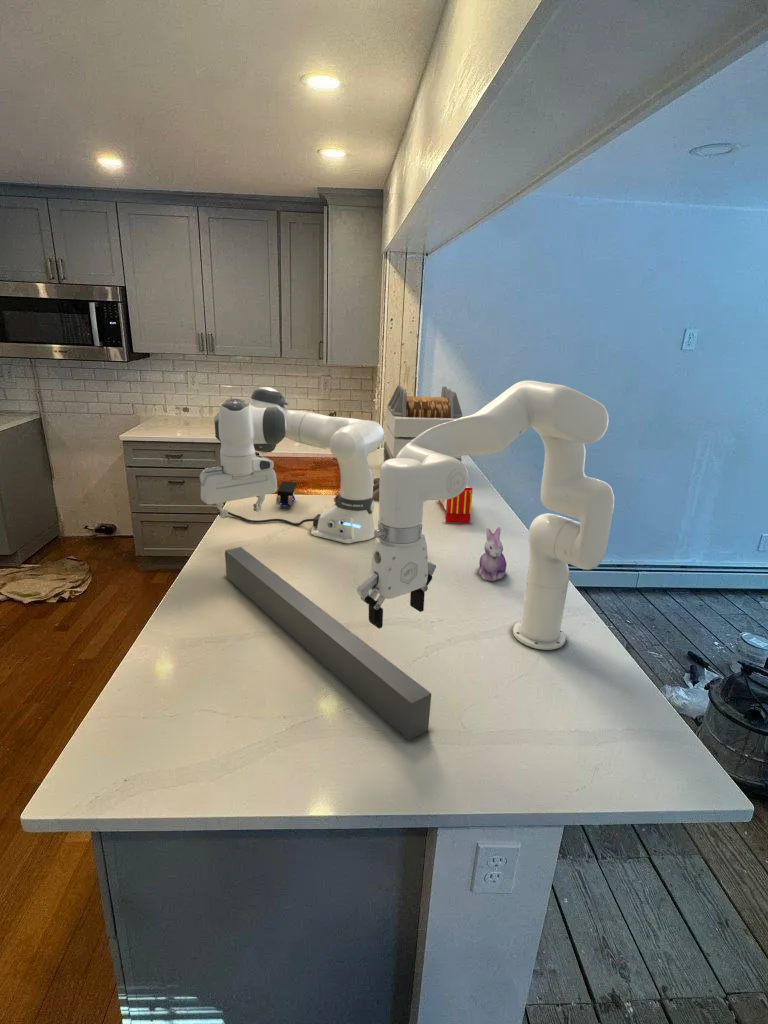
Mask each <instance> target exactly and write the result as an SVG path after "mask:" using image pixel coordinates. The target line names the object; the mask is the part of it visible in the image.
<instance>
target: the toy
mask: <svg viewBox="0 0 768 1024" xmlns="http://www.w3.org/2000/svg"><path fill="white" fill-rule="evenodd" d="M437 502H438V503H439V504H440V505H441V506H442V507H443V508H444V510H445V524H447V523H448V524H451V523H452V524H470V523H471V514H472V504H473V503H472V502H473V487H469V486H468V485H467V486H466V487H465V489H464V490H463V491H462V492H461V493H460V494H459V495H458V496H456V497H454V498H451V499H447V500H437Z"/></svg>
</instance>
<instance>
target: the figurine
mask: <svg viewBox="0 0 768 1024" xmlns="http://www.w3.org/2000/svg"><path fill="white" fill-rule="evenodd" d="M501 529H502V528H501V527H500V526H499V527H497V528H496V530H495V531H494V532H492V530H491V529H490V528H489V527H487V528H486V529H485V534H486V542H485V544H484V546H483V547H484V553H483V554H482V555H481V556H480V557H479V567H478V575H479V576H480V577H481V579H483V580H485V581H491V582H495V581H497V580H501V579H503V578H504V576H505V574H506V569H507V560H506V558H505V554H504V553H503V551H504V546H503V544H502V541H501V531H502V530H501Z"/></svg>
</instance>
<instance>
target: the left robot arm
mask: <svg viewBox="0 0 768 1024" xmlns="http://www.w3.org/2000/svg"><path fill="white" fill-rule="evenodd" d="M285 406H289V402H286V399H285V397H284V396H283V394H282V393H281V392H280V391H278V390H277V389H275V388H273V387H270V386H261V387H256V388H254V389H253V391H252V393H251V396H250V401H248V400H246V399H241V398H229V399H225V400H223V401H221V402H220V404H219V407H218V408H219V410H218V413H217V414H216V415H215V416H214V418H213V422H214V432H215V433H214V435H215V438H216V439H217V440H218V441H219V442H220V450H219V456H220V465H219V466H214V467H207V468H204V470H202V471H201V472H200V473H199V483H200V499H201V501H202V502H203V503H204V504H205V505H207V506H208V505H209V506H210V505H215V507H216V508H217V509H218V510H219V511H218V512H217V513H215V514H216V515H217V516H219V515H220V518H221V519H226V518H228V517H229V515H230V516H231V517H234V518H238V519H240V520H243V521H245V522H247V523H252V524H261V523H268V522H269V523H270V522H283V523H286V524H289V525H291V526H296V527H297V526H301V525H303V524H304V523H307V522H312V528H311V530H310V533H311V536H315V537H319V538H323V539H326V540H330V541H336V542H339V543H343V544H352V543H357V542H365V541H368V540H372V539H373V538H376V537H375V536H374V531H375V530H376V528H375V523H374V513H373V512H374V509H375V499H374V496H373V486H374V484H373V480H374V473H373V471H372V470H371V469H370V465H369V460H368V459H369V458H368V456H369V454H370V453H372V452H375V451H376V450H377V449H378V448H380V446H381V445H382V444H383V443H384V441H385V430H384V428H383V426H382V425H381V424H380V423H379V422H378V421H375V420H367V419H358V418H352V417H351V418H350V417H341V416H339V417H338V416H330V415H325V414H321V413H316V412H311V411H307V410H306V411H305V410H297V409H293V410H292V409H288V408H286V407H285ZM285 438H286V439H289V440H291V441H294V442H295V443H299V444H302V445H306V446H311V447H315V448H318V449H319V448H320V449H323V450H330V452H331V454H332V455H333V456H334V458H336V461H337V465H338V468H339V476H340V490H339V491H338V492H337V494H336V495H335V496H334V497H333V502H334V504H333V505H331V506H329V507H328V508H326V509H325V510H323V512H321V513H318V514H317V515H315V516H314V517H313V518H305V519H302V520H301V521H300V522H292V521H289V520H287V519H283V518H269V519H260V520H259V519H256V520H254V519H248V518H245V517H244V516H241V515H237V514H235V513H233V512H230V511H228V510H227V509H224V508H223V507H224V503H226V502H232V501H239V500H244V499H249V498H254V497H256V498H257V499H256V502H255V503H253V511H254V512H261V511H262V505H263V503H264V501H265V499H266V495H273V494H275V493H276V492H277V491H278V480H277V473H276V471H275V470H274V466H275V463H274V461H273V460H271V459H270V458H268V457H266V456H263V455H258V454H268V453H272V452H273V451H275V450H276V447H277V445H279V443H281V442H282V441H283V440H284V439H285ZM256 453H257V454H256Z"/></svg>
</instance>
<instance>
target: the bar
mask: <svg viewBox="0 0 768 1024" xmlns="http://www.w3.org/2000/svg"><path fill="white" fill-rule="evenodd" d="M224 558H225V561H224V562H225V576H226V578H227V579H228V580H229V581H230V582H231V583H232V584H233V585H235V587H236V588H237V589H239V590H240V591H241V592H242V593H244V594H245V596H247V597H248V598H249V599H250V600H251V601H252V602H253V603H254V604H256V605H257V606H258V607H259V608H260V609H261V610H262V611H264V612H265V614H267V616H268V617H270V618H271V619H272V620H273V621H275V622H276V624H278V625H279V626H280V627H281V628H282V629H284V630H285V631H286V632H287V633H288V634H289V635H290V636H291V637H292V638H294V639H295V641H297V642H298V643H299V644H300V645H301V646H303V647H304V648H305V649H306V650H307V651H308V652H309V653H310V654H311V655H312V656H313V657H315V658H316V659H317V661H319V662H320V663H321V664H322V665H324V666H325V667H326V668H327V669H328V670H329V671H330V672H332V674H333V675H335V676H336V677H337V678H338V679H339V680H340V681H341V682H343V684H344V685H346V686H347V687H348V688H349V689H350V690H351V691H353V692H354V693H355V694H356V695H357V696H358V697H359V698H360V699H362V700H363V701H364V702H365V704H367V705H368V706H370V708H371V709H372V710H374V711H375V712H376V713H377V714H378V715H379V716H380V717H381V718H383V720H384V721H386V722H387V723H388V724H389V725H390V726H391V727H392V728H394V729H395V730H396V731H397V732H398V733H399V734H400V735H401V736H403V737H404V738H405V739H406V740H407V741H409V742H410V741H412V740H413V739H415V738H417V737H419V736H421V735H423V734H424V733H426V732H428V731H429V725H430V715H431V703H432V702H431V701H432V693H431V692H430V691H429V690H427V689H426V688H425V687H424V686H422V685H421V684H419V683H418V682H417V681H416V680H414V679H413V678H412V677H410V676H409V675H408V674H406V672H404V671H403V670H402V669H400V668H399V667H398V666H396V665H395V664H394V663H392V662H391V661H389V659H387V658H386V657H384V656H383V655H382V654H381V653H379V651H377V650H375V649H374V648H373V647H371V646H370V645H369V644H367V643H366V641H364V640H362V639H361V638H360V637H359V636H357V635H356V634H355V633H354V632H352V631H351V630H350V629H348V628H347V627H345V626H344V625H343V624H342V623H340V622H339V621H338V620H337V619H335V618H334V617H333V616H332V615H330V614H329V613H328V612H326V611H325V610H324V609H323V608H321V607H320V606H318V605H317V604H316V603H315V602H313V601H312V600H310V599H309V598H308V597H307V596H305V595H304V594H303V593H302V592H300V591H299V590H298V589H297V588H295V587H294V586H292V585H291V584H290V583H289V582H288V581H286V580H285V579H283V578H282V577H281V576H279V575H278V574H277V573H276V572H274V571H273V570H272V569H271V568H269V567H268V566H266V565H265V564H264V563H263V562H261V561H260V560H259V559H258V558H256V557H255V556H254V555H252V554H251V553H249V552H248V551H246V549H245V548H243V547H242V546H238V547H234V548H229V549H225V550H224Z"/></svg>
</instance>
